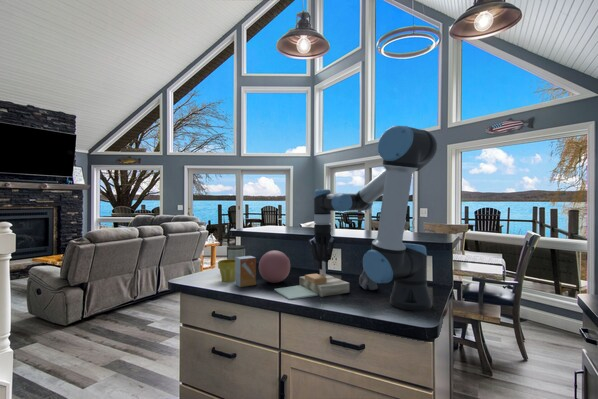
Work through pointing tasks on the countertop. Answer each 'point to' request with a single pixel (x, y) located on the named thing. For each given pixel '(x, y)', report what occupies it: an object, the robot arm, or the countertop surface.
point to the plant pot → (227, 270)
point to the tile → (315, 278)
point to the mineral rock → (367, 282)
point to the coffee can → (235, 251)
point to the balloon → (274, 266)
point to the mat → (295, 292)
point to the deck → (326, 286)
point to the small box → (245, 271)
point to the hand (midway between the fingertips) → (322, 276)
